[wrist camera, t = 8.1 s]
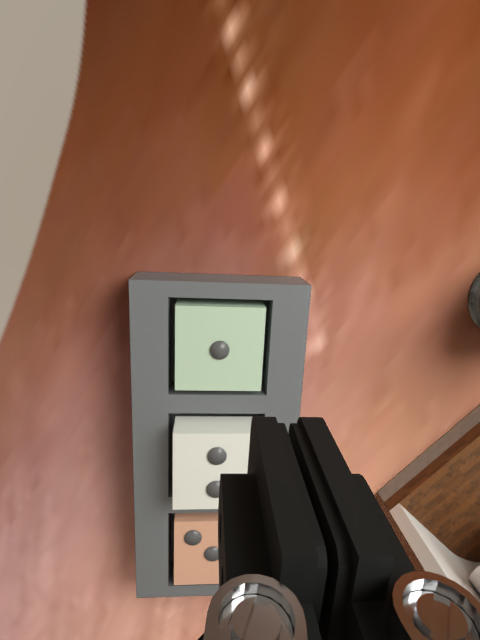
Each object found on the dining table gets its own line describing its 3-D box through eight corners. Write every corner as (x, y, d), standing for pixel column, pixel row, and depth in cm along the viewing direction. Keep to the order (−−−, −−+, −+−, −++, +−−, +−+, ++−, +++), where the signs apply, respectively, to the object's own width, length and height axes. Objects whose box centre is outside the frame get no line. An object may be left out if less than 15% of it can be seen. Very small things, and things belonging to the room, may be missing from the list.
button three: (176, 500, 28) (173, 523, 26) (249, 499, 28) (253, 521, 26) (176, 560, 29) (173, 586, 27) (246, 558, 29) (248, 584, 27)
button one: (177, 298, 24) (174, 306, 22) (261, 300, 25) (266, 308, 23) (177, 376, 25) (174, 391, 23) (257, 377, 26) (261, 391, 24)
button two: (175, 416, 25) (172, 434, 23) (257, 416, 25) (261, 434, 23) (175, 487, 26) (172, 511, 24) (253, 486, 26) (257, 509, 24)
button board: (137, 271, 25) (128, 279, 22) (299, 276, 26) (311, 285, 23) (143, 561, 30) (136, 597, 27) (276, 557, 31) (283, 593, 28)
